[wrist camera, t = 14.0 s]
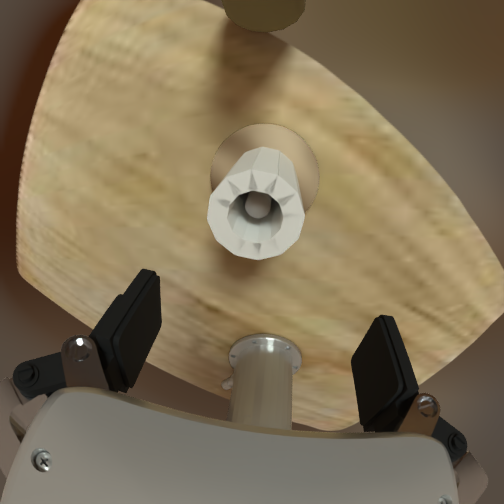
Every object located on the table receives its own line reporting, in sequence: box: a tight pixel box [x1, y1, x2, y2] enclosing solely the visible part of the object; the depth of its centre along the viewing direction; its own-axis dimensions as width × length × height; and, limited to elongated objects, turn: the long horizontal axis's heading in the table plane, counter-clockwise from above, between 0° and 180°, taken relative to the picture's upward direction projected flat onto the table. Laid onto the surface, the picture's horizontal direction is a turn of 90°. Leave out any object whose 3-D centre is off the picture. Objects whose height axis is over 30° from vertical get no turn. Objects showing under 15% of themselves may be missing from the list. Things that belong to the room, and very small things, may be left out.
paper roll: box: [207, 147, 305, 260], centre depth 25 cm, size 7×7×11 cm
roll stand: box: [211, 123, 320, 218], centre depth 27 cm, size 12×12×10 cm
